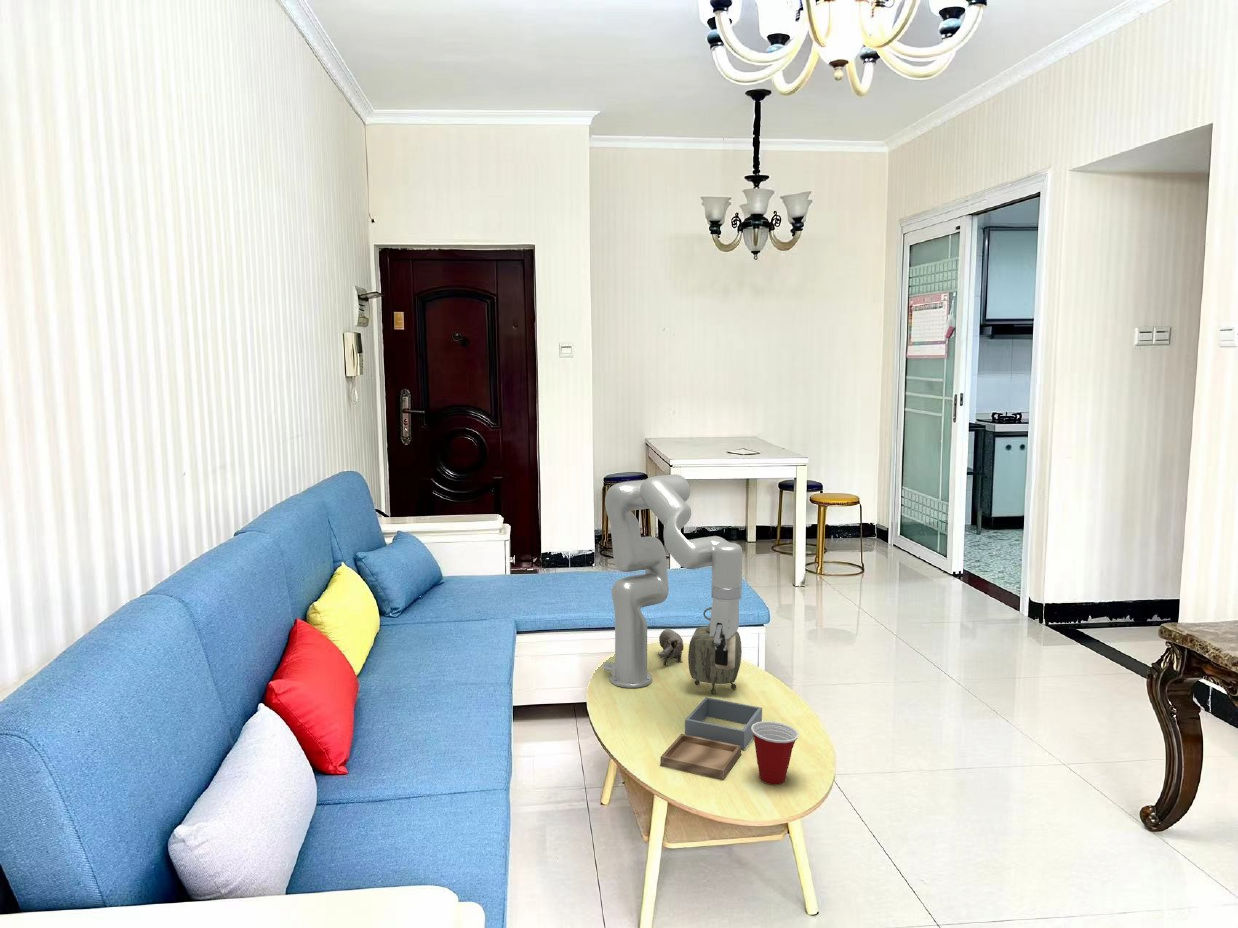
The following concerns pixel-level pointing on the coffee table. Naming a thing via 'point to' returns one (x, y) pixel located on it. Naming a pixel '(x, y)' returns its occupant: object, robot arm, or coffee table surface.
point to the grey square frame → (725, 712)
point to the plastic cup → (773, 749)
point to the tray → (701, 756)
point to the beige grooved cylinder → (729, 653)
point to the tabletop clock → (710, 659)
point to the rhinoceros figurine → (670, 645)
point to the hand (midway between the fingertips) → (724, 660)
